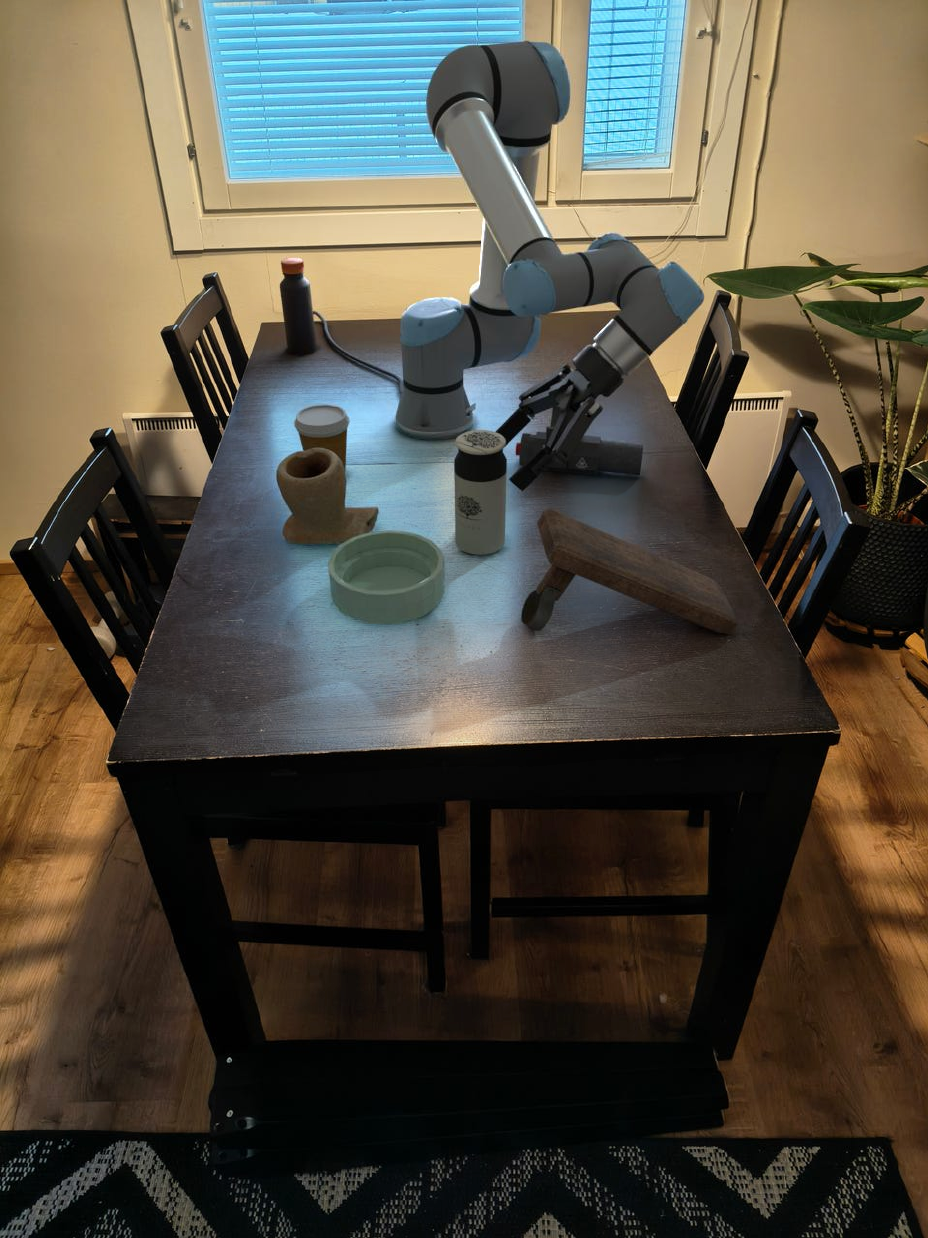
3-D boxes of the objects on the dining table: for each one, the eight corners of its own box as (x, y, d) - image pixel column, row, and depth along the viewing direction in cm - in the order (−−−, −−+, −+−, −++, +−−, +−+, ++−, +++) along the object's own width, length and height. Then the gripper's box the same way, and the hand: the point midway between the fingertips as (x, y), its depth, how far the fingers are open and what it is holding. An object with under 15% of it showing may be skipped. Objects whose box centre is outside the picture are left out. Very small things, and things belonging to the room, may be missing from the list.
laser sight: (638, 488, 160) (645, 435, 154) (511, 476, 164) (513, 425, 158) (641, 462, 168) (647, 411, 162) (519, 452, 172) (521, 402, 165)
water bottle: (314, 354, 211) (305, 265, 199) (285, 354, 211) (273, 265, 199) (318, 343, 216) (309, 256, 204) (290, 343, 216) (279, 256, 204)
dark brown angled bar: (659, 654, 142) (490, 588, 131) (720, 579, 134) (545, 503, 124) (677, 699, 133) (498, 632, 123) (742, 622, 126) (558, 544, 115)
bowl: (314, 583, 138) (310, 550, 134) (411, 552, 145) (409, 519, 141) (361, 642, 127) (358, 607, 123) (465, 605, 133) (464, 571, 130)
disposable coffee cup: (364, 470, 166) (359, 408, 159) (336, 494, 159) (330, 430, 152) (319, 460, 170) (312, 399, 162) (290, 483, 163) (282, 420, 155)
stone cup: (276, 557, 144) (263, 472, 135) (290, 517, 153) (278, 436, 144) (372, 558, 143) (365, 473, 134) (380, 518, 153) (374, 436, 144)
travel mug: (479, 524, 151) (480, 423, 140) (515, 542, 147) (518, 440, 136) (445, 542, 147) (442, 440, 136) (480, 562, 142) (480, 458, 131)
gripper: (654, 411, 124) (542, 518, 131) (598, 345, 144) (503, 441, 150) (620, 377, 120) (507, 489, 127) (568, 314, 140) (472, 414, 146)
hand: (505, 464), depth 139 cm, fingers open, 13 cm apart
